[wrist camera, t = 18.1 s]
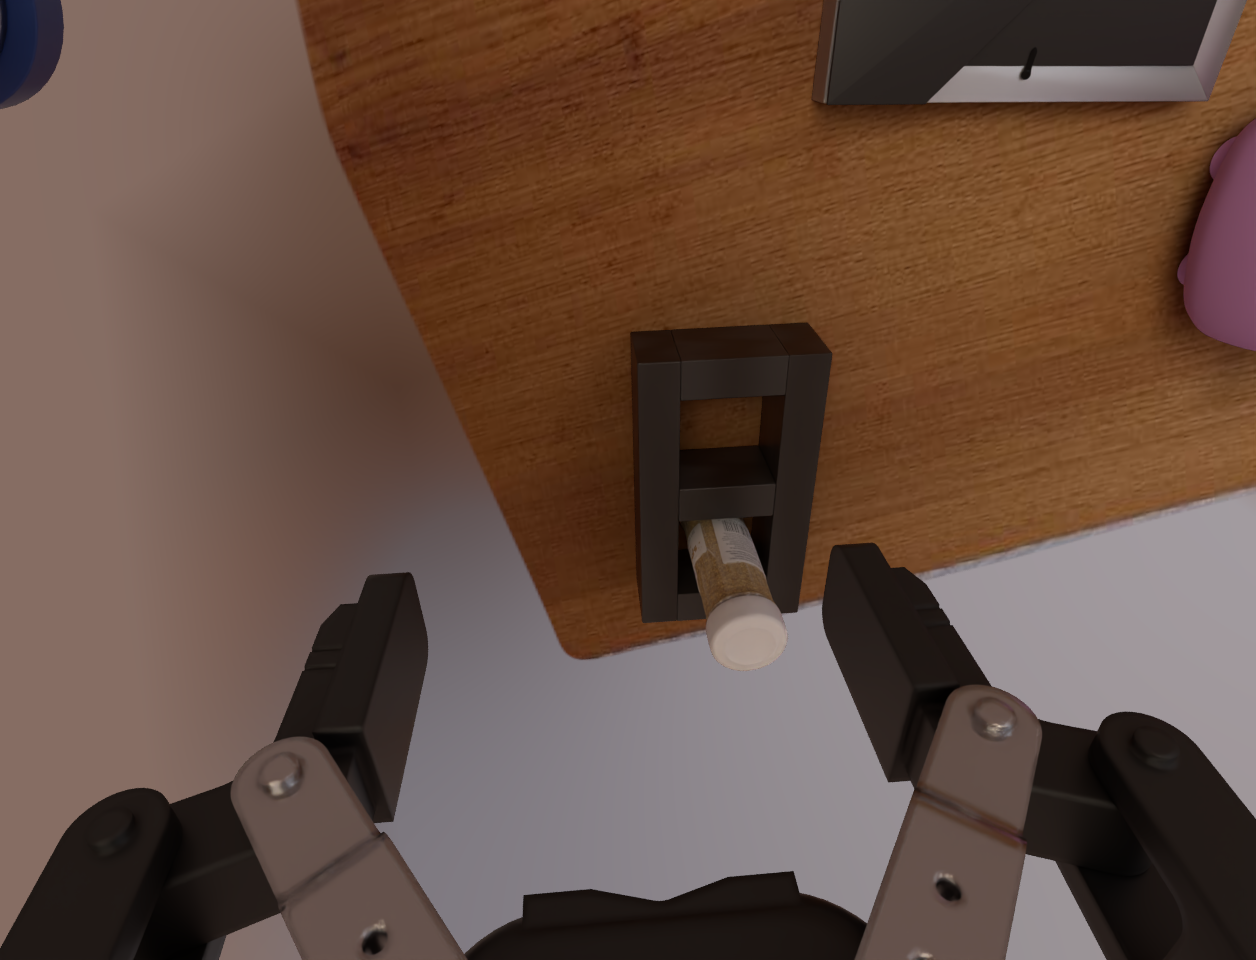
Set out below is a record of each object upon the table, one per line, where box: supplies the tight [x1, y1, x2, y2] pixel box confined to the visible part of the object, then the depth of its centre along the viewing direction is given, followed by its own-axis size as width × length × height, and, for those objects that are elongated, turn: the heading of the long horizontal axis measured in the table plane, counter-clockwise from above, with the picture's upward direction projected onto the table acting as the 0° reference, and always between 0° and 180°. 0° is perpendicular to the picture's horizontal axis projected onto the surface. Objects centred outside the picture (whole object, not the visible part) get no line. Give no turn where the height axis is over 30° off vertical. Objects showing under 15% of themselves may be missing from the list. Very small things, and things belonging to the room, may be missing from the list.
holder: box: [630, 323, 832, 623], centre depth 48 cm, size 11×20×5 cm, turn 1°
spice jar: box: [681, 518, 788, 671], centre depth 47 cm, size 5×5×13 cm
